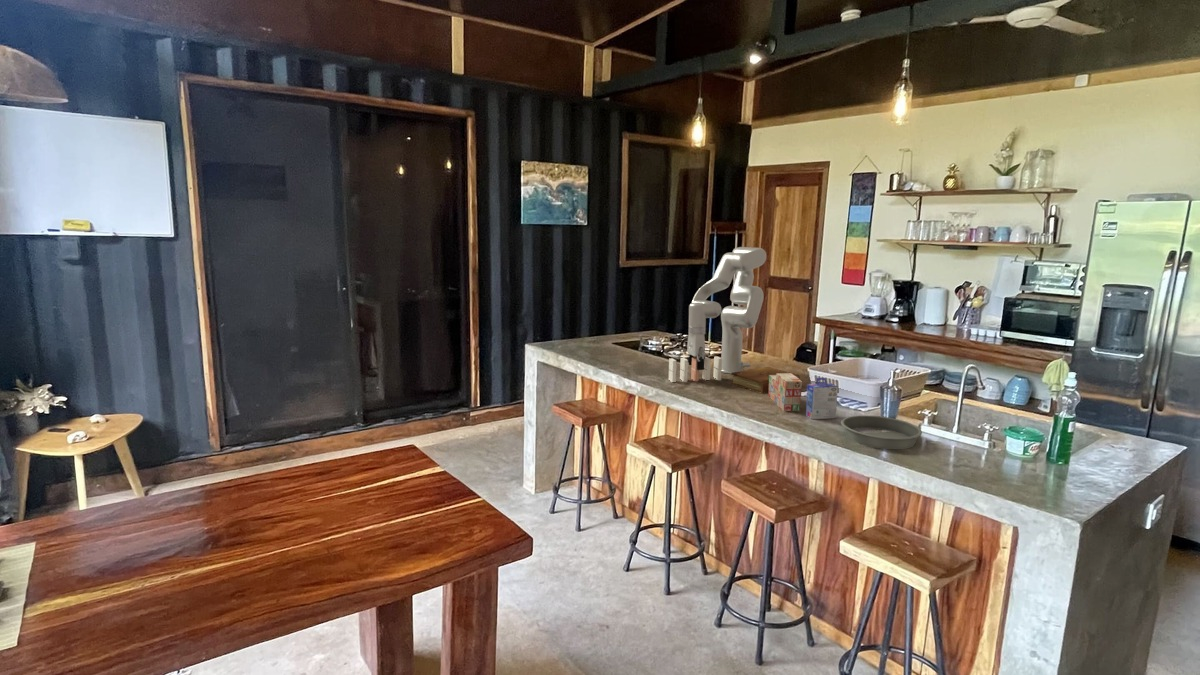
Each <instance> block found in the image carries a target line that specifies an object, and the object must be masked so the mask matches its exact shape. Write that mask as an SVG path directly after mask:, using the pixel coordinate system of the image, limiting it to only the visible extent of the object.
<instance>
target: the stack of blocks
mask: <svg viewBox="0 0 1200 675" xmlns="http://www.w3.org/2000/svg"><path fill="white" fill-rule="evenodd" d="M791 373H792V372H790V373H777V374H776V375H769V392H767V393H768V394H767V395H768V396H769V397H770V398H771V399H772V400H773V401H774V402H775V403H774V402H773V401H772V400H771V399H770V398H769V397H768V398H769V399H770V400H771V401H772V402H773V403H774V404H775V405H776V406H777V407H778V408H779V409H780V410H782V412H784V411H801V398H802V386H803V381H802V380H801V378H800V379H799V378H797V377H796V376H794V375H793V374H791Z"/></svg>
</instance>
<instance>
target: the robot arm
mask: <svg viewBox="0 0 1200 675" xmlns="http://www.w3.org/2000/svg"><path fill="white" fill-rule="evenodd" d="M766 261H767V252H766V250H765V249H763V248H761V247H753V246H752V247H750V246H739V247H735V248H733V250H732V252H726V253H724V254H723V255H722V257H721V259H720V261H719V263H718V265H717V268H716V270H715V272H714V274H713V276H712V277H711V279H710V280H708V281H706V283H704V284H703V285H701V287H700V288H698V290H697V291H696V292H695V294H694V296H693V298H692V301H691V303H690V304H689V305H688V335H687V346H686V348H687V350H686V352H687V354H688V366H692V358H693V357H695V358H697V359H698V361H697V370H699V371H703V370H704V361H705V357H706V341H705V340H706V338H705V335H706V324H707V323H706V322H707V320H706V319H715V318H717V317H719V316H720V321H721V327H722V330H721V331H722V332H721V333H722V337H721V354H720V355H721V356H720V358H722V372H721V373H723V374H730V375H731V373H732V372H738V371H745V368H750V367H751V363H750V362H744V361H742V356H743V355H742V353H743V351H742V350H743V332H742V329H741V328H743V329H751V328H754V327H755V326H756V324H757V322H758V319H759V315H760V313H761V310H762V307H763V302H764V299H765V298H764V297H765V296H764V295H765V294H764V291H763V289H762V288H761V287H759V286H756V285H753V284H754V279H755V275H754V271H753V270H754V269H757V268H760V267H761V266H763V265H764V264H765V262H766ZM734 276H735V278H734ZM733 278H734V282H733V286H732V288H731V291H730V296H729V297H730V298H729V300H730V301H731V302H732V303H733V304H735V305H736V306H735V305H728V306H725V307H724V308H722V306H721V304H720V302H717V301H713V300H712V301H711V300H707V299H708V298H709V297H710V296H711V295H713V294H716V293H718V292H721V291H723V290H726V289H727V288H729V287H730V284H731V283H732V281H733ZM737 305H739V306H737ZM740 305H741V306H740ZM745 306H746V307H745Z"/></svg>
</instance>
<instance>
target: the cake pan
mask: <svg viewBox="0 0 1200 675" xmlns="http://www.w3.org/2000/svg"><path fill="white" fill-rule="evenodd" d="M840 422H841V425H842V426H843V428H844V433H845V436H846V438H847V439H848V440H850V439H851V440H850V441H853V442H854V443H857V444H859V445H863V446H866V447H872V448H875V449H881V450H882V449H883V450H884V449H885V450H904V449H909V448H912V447H914V446H915V444H916V442H917V439H918V438H919V437H920V436H921V435H922V434H923V431H922V430H921V428H920V427H918V426H917V425H915V424H913V423H910V422H908V421H904V420H901V419H898V418H893V417H887V416H878V415H851V416H847V417H845V418H843V419H841V421H840ZM856 428H858V429H877V430H884V431H880V432H860V431H858V430H856Z"/></svg>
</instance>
